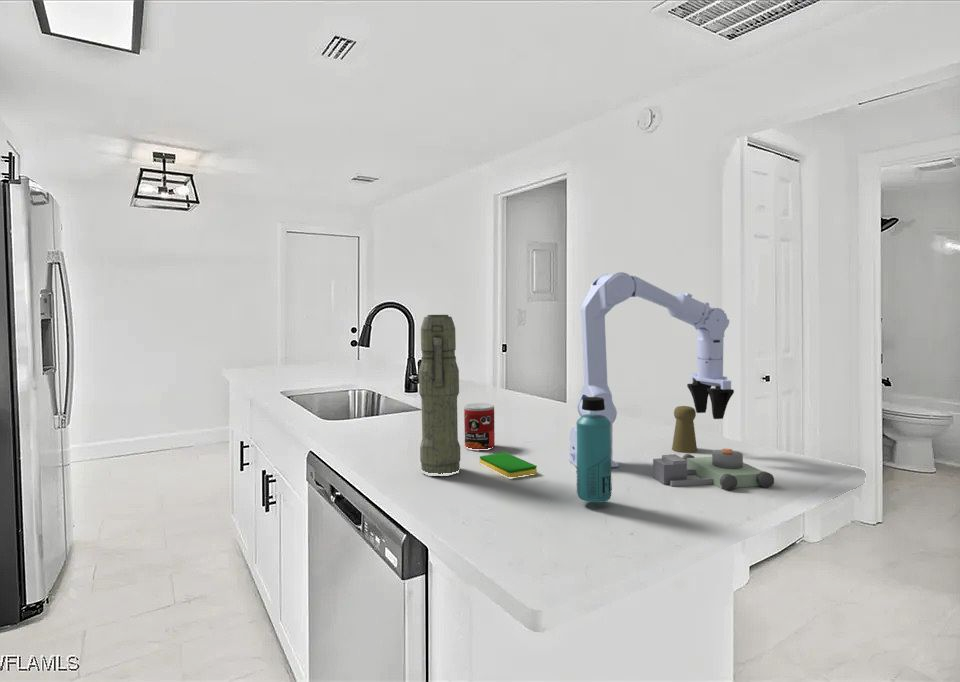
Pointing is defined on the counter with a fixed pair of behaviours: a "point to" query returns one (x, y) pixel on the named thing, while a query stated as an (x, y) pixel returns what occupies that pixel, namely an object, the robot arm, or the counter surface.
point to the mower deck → (724, 471)
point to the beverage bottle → (593, 453)
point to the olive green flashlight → (439, 396)
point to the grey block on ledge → (669, 468)
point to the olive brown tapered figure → (684, 430)
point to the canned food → (479, 426)
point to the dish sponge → (508, 464)
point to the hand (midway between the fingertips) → (709, 415)
